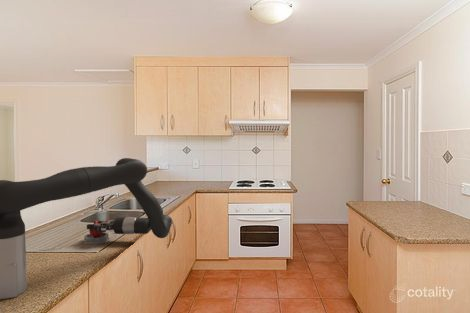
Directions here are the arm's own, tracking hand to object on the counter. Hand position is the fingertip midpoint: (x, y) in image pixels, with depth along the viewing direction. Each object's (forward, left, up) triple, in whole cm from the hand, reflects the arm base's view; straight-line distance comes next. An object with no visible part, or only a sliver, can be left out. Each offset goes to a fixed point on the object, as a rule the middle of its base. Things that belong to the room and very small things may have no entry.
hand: (90, 225), depth 145 cm
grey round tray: (-1, -2, -7) cm, 8 cm away
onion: (-1, -2, -6) cm, 7 cm away
